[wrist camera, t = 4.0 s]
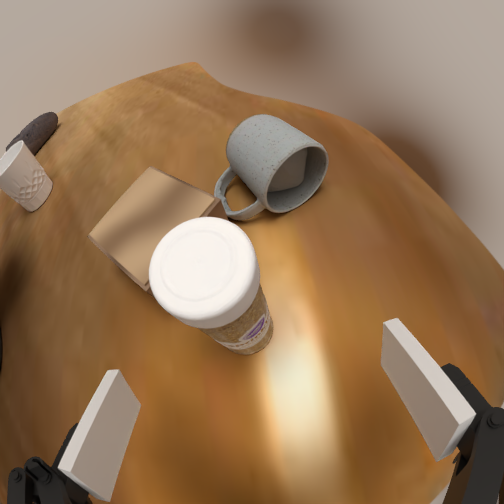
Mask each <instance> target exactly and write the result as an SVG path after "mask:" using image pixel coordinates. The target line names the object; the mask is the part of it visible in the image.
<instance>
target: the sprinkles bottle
mask: <svg viewBox="0 0 504 504" xmlns="http://www.w3.org/2000/svg"><path fill="white" fill-rule="evenodd" d="M149 282H150V287H151V290H152V292H153V295H154V297H155V298H156V300H157V301H158V303H159V304H160V305H161V306H162V307H163V308H164V309H165V310H166V311H167V312H169V313H170V314H171V315H173V316H174V317H175V318H177V319H178V320H180V321H181V322H183V323H185V324H187V325H189V326H192V327H196V328H199V329H200V330H201V331H203V332H204V333H206V334H207V335H209V336H211V337H212V338H214V340H215V341H217V342H218V343H220V344H222V345H223V346H225V347H227V348H228V349H229V350H231V351H233V352H235V353H237V354H244V355H249V354H253V353H256V352H258V351H260V350H261V349H263V348H264V347H265V346H266V345H267V344H268V343H269V341H270V339H271V336H272V332H273V322H272V319H271V317H270V314H269V310H268V306H267V302H266V299H265V296H264V294H263V291H262V288H261V285H260V269H259V265H258V261H257V257H256V254H255V250H254V248H253V245H252V243H251V241H250V239H249V238H248V236H247V235H246V234H245V233H244V232H243V230H241V229H240V228H239V227H238V226H237V225H235V224H233V223H231V222H229V221H227V220H224V219H221V218H216V217H200V218H195V219H191V220H188V221H186V222H183V223H181V224H179V225H178V226H176V227H175V228H173V229H172V230H171V231H169V232H168V233H167V234H166V235H165V236H164V237H163V238H162V240H161V241H160V242H159V244H158V245H157V247H156V249H155V251H154V252H153V255H152V258H151V261H150V266H149Z"/></svg>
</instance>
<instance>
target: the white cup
mask: <svg viewBox="0 0 504 504" xmlns="http://www.w3.org/2000/svg"><path fill="white" fill-rule="evenodd" d="M52 185H53V182H52V181H51V179H50V178H49V177H48V176H47V174H46V173H45V171H44V169H43V168H42V167H41V165H40V164H39V162H38V161H37V160H36V158H35V157H34V155H33V154H32V153H31V151H30V150H29V149H28V147H27V146H26V144H25V143H24V142H23V141H22V140H21V141H18V142H17V143H15V144H14V145H13V146H12V147H11V148H9V149H8V151H7V152H6V153H5V154H4V155H3V156H2V158H1V159H0V188H1V189H2V190H3V191H4V192H5V193H6V194H7V195H9V196H10V197H11V198H12V199H14V200H15V201H16V202H17V203H19V204H20V205H22V206H23V207H24V208H25V209H26V210H27V211H31V212H32V211H34V210H36V209H38V208H39V207H40V206H41V205H42V204H43V203H44V202H45V200H46V199H47V198H48V196H49V194H50V192H51V190H52Z"/></svg>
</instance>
